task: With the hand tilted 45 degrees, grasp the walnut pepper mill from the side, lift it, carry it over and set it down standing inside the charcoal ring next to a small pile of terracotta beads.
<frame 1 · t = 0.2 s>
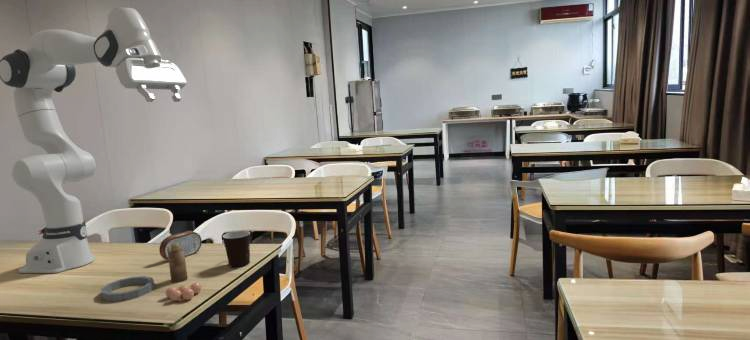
hand: (164, 100, 138), 54 cm above the table, tool tilted 25°, fingers open, 8 cm apart
coffee mug: (241, 263, 161), on the table
tin: (183, 257, 171), on the table
bead pile: (172, 297, 135), on the table
pepper mill: (179, 279, 149), on the table
ring: (128, 291, 141), on the table
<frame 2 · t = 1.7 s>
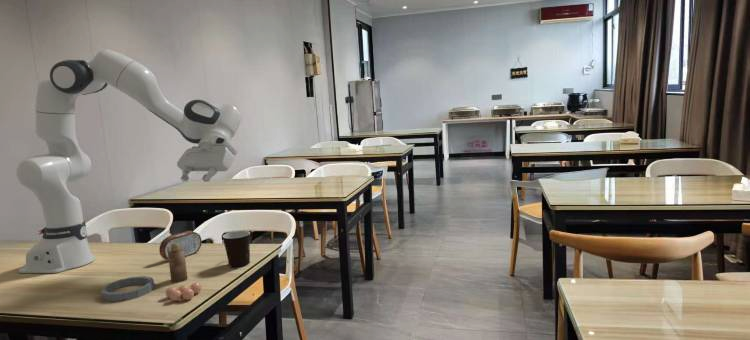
hand: (194, 180, 156), 28 cm above the table, tool tilted 45°, fingers open, 8 cm apart
nothing on the table moved.
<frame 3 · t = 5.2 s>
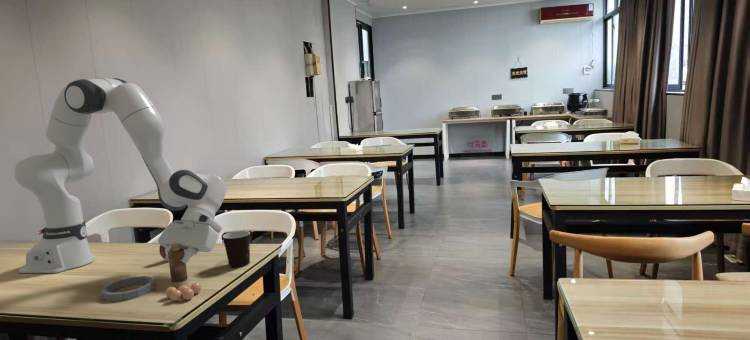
hand: (175, 261, 147), 6 cm above the table, tool tilted 45°, fingers closed on pepper mill, 5 cm apart
pepper mill: (179, 279, 149), on the table, touching gripper
everything else where it was.
when the fingers open (7 cm above the table, at t = 10.3 s): pepper mill stays where it is, resting in ring.
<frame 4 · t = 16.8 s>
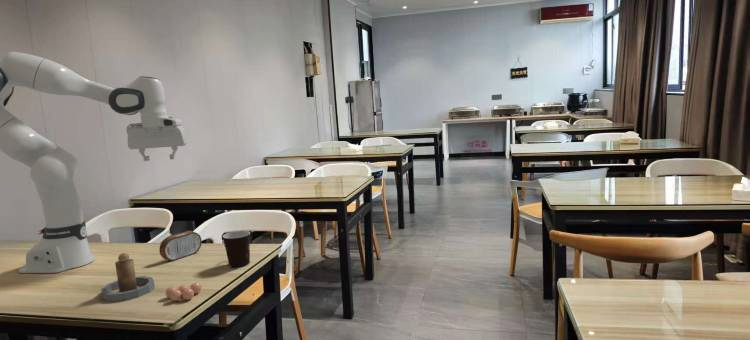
hand: (159, 160, 179), 33 cm above the table, tool pointing down, fingers open, 8 cm apart
pepper mill: (128, 291, 141), resting in ring
everything else where it was.
at the end: pepper mill 0.1 cm from the ring (horizontally); pepper mill tilted 0°; the gripper is holding nothing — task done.
